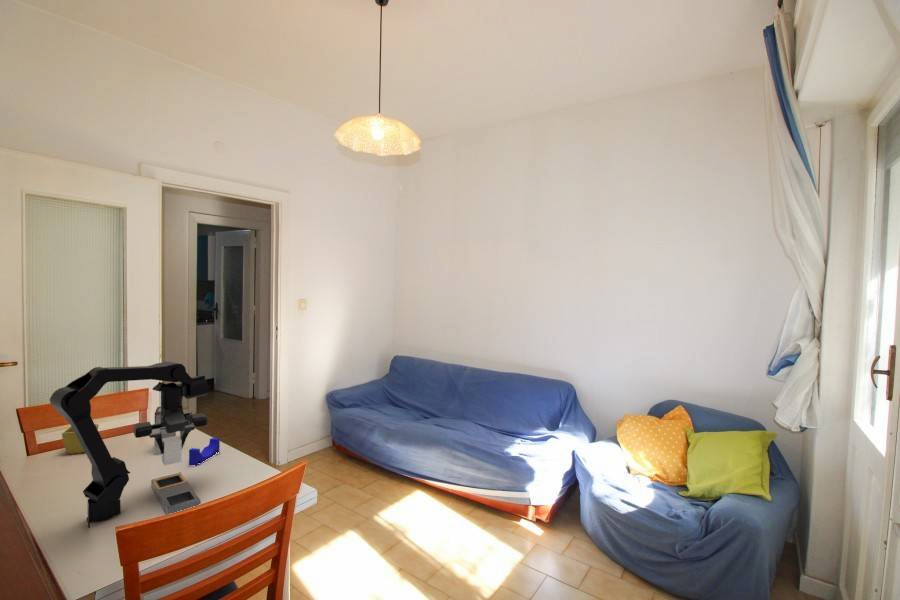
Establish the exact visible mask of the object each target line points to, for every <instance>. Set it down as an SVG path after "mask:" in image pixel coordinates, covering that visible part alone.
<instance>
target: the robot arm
mask: <svg viewBox="0 0 900 600" xmlns="http://www.w3.org/2000/svg"><path fill="white" fill-rule="evenodd" d="M145 380H146V381H148V380H149V381H150V380H153V381H159V382H157V384H156V385H154V386H153V387H152V390H153V391H155V392H160V407H161V423H159V424H155V423H153V424H151V422H150V421H145V422H141V423H140V422H139V423H135V424H134V425H133V434H134V437H135V438H137V439H138V438H144V437H149V438H150V439H154V440H156V441H157V444H158V446H159V449H160V451H161V453H162V454H163V442H162V434H161V432H160V430H161V429H166V432H167V433H173V432H176V433H177V432H180V433H179V437H180V438H181V440H182V449H183V447H184V445H185V442H186V439H187V437H188V436H189V434H190V433H191V432H192V431H194V430H195V427H196V428H198V427H204V426H207V425H208V417H207V416H206V415H205V414H204V413H203V412H200V413H194V414H193V413H192V412H186V413H184V410H183V409H184V408H183V407H184V406H183V405H184V404H183V401H184V400H183V398H185V399H187V400H190V399H195V398H199V397H202V396H203V397H204V396H207V395H208V394H209V391H210V385H209V383H208V380H207V379H206V376H205V375H203V374H200V375H195V376H192V377H191V376H190V374H188V373H187V370H186V366H184V364H183V363H178V362H173V361H163V362H158V363H157V362H156V363H154V364H150V365H145V366H142V365H141V366H139V365H138V366H137V365H136V366H114V367H112V366H110V367H109V366H108V367H102V366H95V367H93V368H92V369H90V370H89V371H88V372H87V373H85V374H82V375H81V376H79V377H78V378H76V379H74V380H72V381H71V382H69V383H68V384H67V385H65V386H63V387H60V388H57V389H56V390H55V391H53V393H52V394H51V396H50V398H49V403H50V405H51V406H52V408H53V409H54V410H55V411H56V412H57V413H58V414H59V415H60V416H61V417H62V418H64V420H65V421H67V422H68V423H69V425H70V427H72V429H73V430H74V432H75V434H76V436H77V438H78V440H79V442H80V444H81V445H82V447H83V449H84V451H85V455H86V456H87V458H88V460H89V462H90V464H91V477H92V478H91V479H92V480H91V482H90V483H89V484H88V485H87V486H86V487H85V488H84V489H83V491H82V494H83V495H84V497H85V499H86V498H87V517H86V523H87V528H88V529H91V526H90V525H91V524H90V523H101V522H104V521H108V520H110V519H112V518H114V517H116V516H118V515H120V514H121V497H122V493H123V491H124V489H125V487H126V486H127V484H128V483H129V480H130V475H129V474H131V471H129V469H127V465H126V462H125V461H124V460H122V459H119V458H117V457H115V456H113V457H112V455H111V453H110V451H109V450H108V448H107V445H106V444H105V442H104V440H103V438H102V436H101V434H100V432H99V429H98V430H97V428H96V426H95V424H96V423H95V422H94V421H93V419H92V405H91V401H90V400H92V399H94V397H96V395H98V393H99V392H100V391H101V389H102V388H103V387H104V386H106V384H108V383H110V382H111V383H114V382H130V381H131V382H132V381H145ZM164 382H167V383H164ZM162 454H161V455H162Z"/></svg>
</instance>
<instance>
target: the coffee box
mask: <svg viewBox="0 0 900 600" xmlns="http://www.w3.org/2000/svg"><path fill="white" fill-rule="evenodd" d="M159 423H161V406H157V407H156V410H155V411H154V424H159ZM160 432H161V434H162V439H163V438H168V437H174V436H177V432H173V433H167V432H166V429H161V430H160ZM153 443H154V447H153V449H154V452H153V453H154V455H160V454H161V455H162V453H161V451H160V449H159V446H158V444H157V441H156V440H155V439H154V442H153Z"/></svg>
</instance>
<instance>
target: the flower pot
mask: <svg viewBox="0 0 900 600" xmlns="http://www.w3.org/2000/svg"><path fill="white" fill-rule="evenodd" d="M94 424H95V426H96V428H97V430H98V431H99V425H100V424H99V423H94ZM61 435H62V437H61V438H62V443H63V447H64V449H65V450H66V452H67V453H69V454H70V455H75V454H81V453H82V454H83V453H85V451H84V449H83V447H82V445H81V444H80V442H79V440H78V438H77V436H76V434H75V432H74V430H73V429H72V427H71V426H70V427H68V428H66V429H65V430H64V431H63V432H61ZM85 454H86V453H85Z"/></svg>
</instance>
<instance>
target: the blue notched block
mask: <svg viewBox="0 0 900 600" xmlns="http://www.w3.org/2000/svg"><path fill="white" fill-rule="evenodd" d="M220 441H221V440H220V438H218V437H217V438H216V437H211V438H209V444H208V445H207V446H204V447H203V449H202V451H201V448H195V447H191V448H190V449H189V450H188V466H189V465H195V466H194V467H198V466H199V465H198V463H202V462H203V461H205V460H206V459H208V458H210V457H212V456H213V455H215V454H216V452H217V453H218V452H219V453H220V447H221V446H220ZM212 458H213V457H212ZM210 459H211V458H210ZM205 462H206V461H205ZM203 463H204V462H203ZM203 463H202V464H203ZM197 465H198V466H197Z"/></svg>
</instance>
